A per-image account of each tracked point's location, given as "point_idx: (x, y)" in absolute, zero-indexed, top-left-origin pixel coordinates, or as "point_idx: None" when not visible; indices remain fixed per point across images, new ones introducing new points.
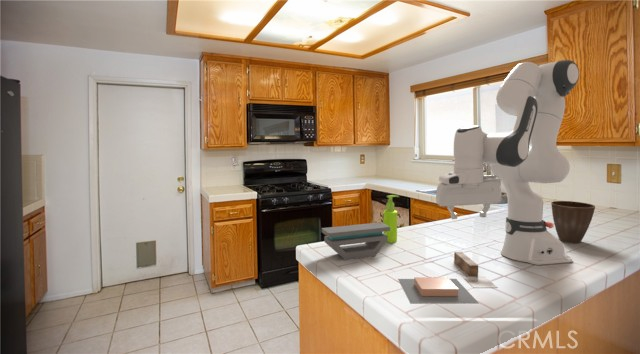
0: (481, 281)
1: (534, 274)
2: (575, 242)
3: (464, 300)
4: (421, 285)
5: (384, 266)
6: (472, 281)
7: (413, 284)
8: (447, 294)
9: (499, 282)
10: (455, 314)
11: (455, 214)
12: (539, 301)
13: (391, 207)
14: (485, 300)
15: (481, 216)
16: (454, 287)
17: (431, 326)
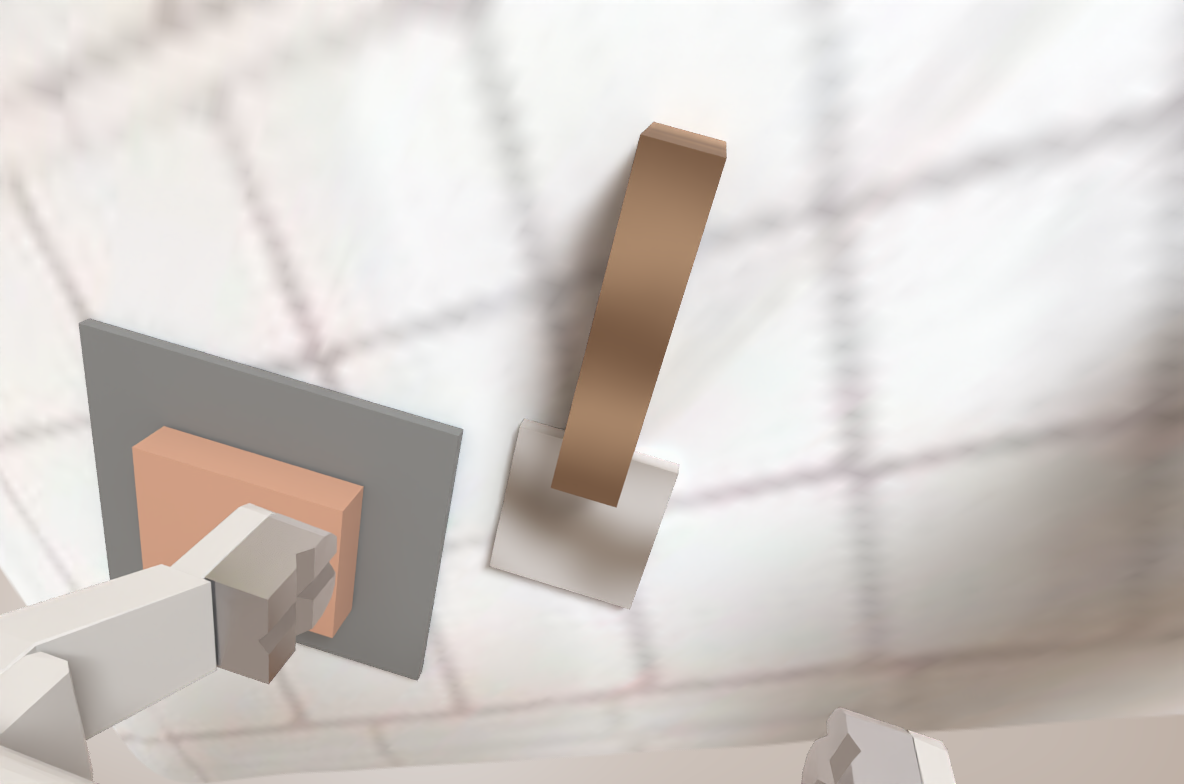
0: (594, 523)
1: (1126, 521)
2: None
3: (364, 642)
4: (151, 547)
5: (6, 10)
6: (535, 506)
7: (161, 424)
8: None
9: (728, 535)
10: (285, 683)
11: (239, 661)
12: (735, 739)
13: None
14: (481, 651)
15: (810, 772)
16: (320, 619)
17: (168, 705)
